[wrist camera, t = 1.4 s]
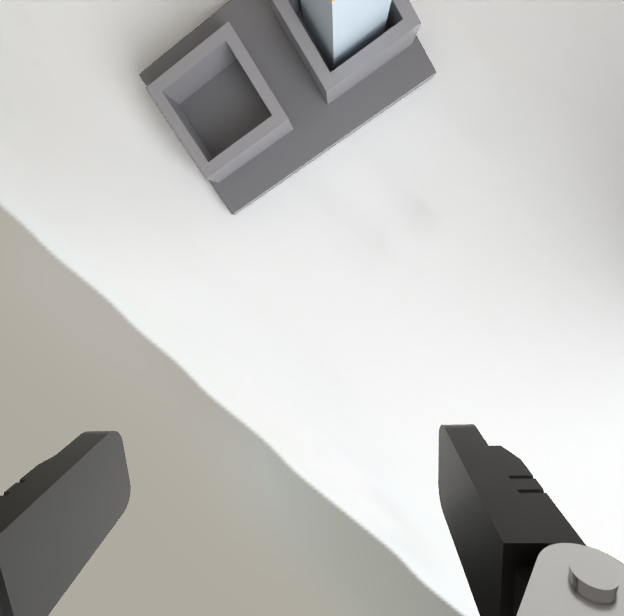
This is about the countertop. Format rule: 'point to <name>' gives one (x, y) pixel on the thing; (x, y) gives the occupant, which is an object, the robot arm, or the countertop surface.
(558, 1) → the countertop surface
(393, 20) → the grey boxy piece
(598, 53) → the countertop surface
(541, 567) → the robot arm
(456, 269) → the countertop surface
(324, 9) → the plug
